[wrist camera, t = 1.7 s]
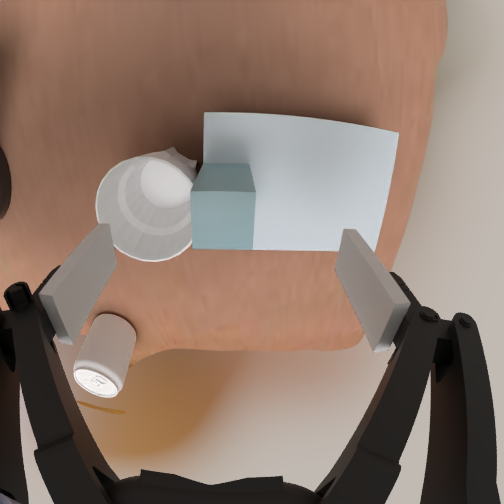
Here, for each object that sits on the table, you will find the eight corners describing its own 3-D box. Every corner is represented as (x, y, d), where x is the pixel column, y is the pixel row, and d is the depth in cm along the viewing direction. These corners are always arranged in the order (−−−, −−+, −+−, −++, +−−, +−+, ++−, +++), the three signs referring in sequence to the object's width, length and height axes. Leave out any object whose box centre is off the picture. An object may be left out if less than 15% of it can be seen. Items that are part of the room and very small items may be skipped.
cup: (117, 194, 33) (82, 229, 24) (154, 124, 29) (122, 135, 20) (183, 233, 36) (169, 278, 27) (226, 168, 32) (223, 195, 24)
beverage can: (86, 323, 43) (62, 375, 33) (110, 303, 41) (85, 360, 31) (120, 350, 47) (104, 403, 36) (146, 333, 45) (131, 392, 34)
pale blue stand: (205, 244, 29) (196, 301, 21) (205, 112, 23) (189, 117, 15) (371, 247, 30) (408, 296, 23) (394, 131, 24) (451, 151, 16)
